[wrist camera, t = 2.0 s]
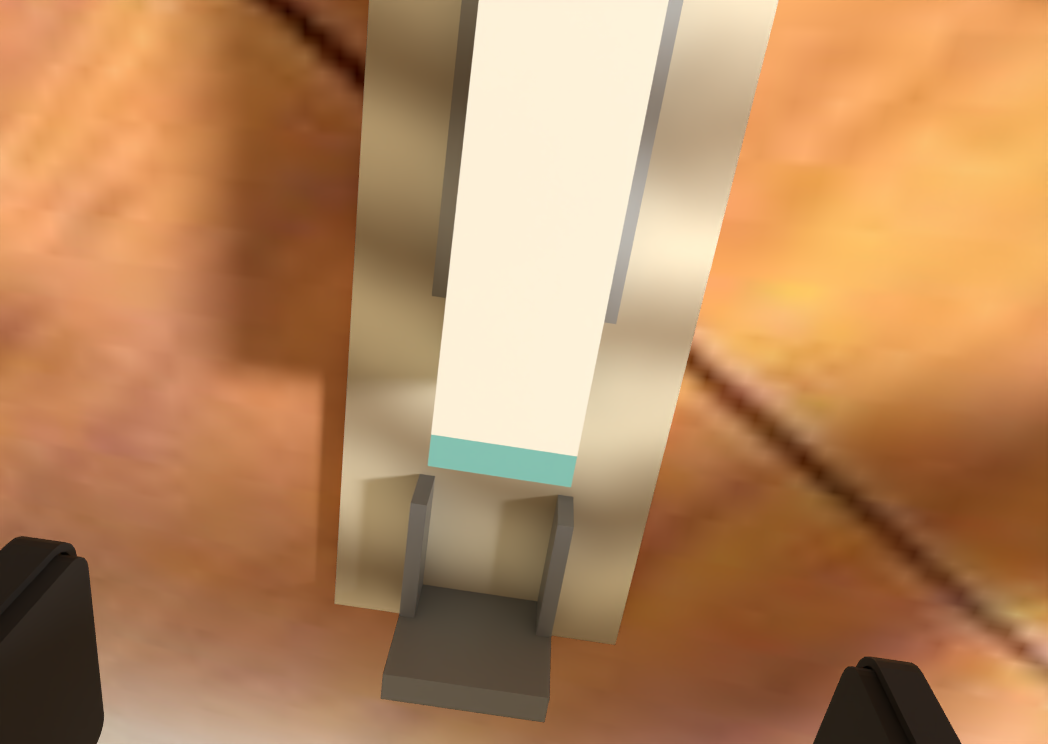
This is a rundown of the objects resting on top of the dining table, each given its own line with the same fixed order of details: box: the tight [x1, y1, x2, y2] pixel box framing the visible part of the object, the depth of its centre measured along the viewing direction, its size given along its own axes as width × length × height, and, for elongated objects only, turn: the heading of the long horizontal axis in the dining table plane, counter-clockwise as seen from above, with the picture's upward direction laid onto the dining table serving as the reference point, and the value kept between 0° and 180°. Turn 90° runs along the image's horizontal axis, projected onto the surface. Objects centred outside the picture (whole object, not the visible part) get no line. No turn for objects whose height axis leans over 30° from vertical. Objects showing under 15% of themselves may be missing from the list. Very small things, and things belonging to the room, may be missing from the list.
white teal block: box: [428, 0, 669, 487], centre depth 22 cm, size 15×4×7 cm, turn 172°
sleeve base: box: [334, 0, 778, 645], centre depth 27 cm, size 30×12×3 cm, turn 172°
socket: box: [381, 474, 574, 722], centre depth 30 cm, size 6×6×5 cm
